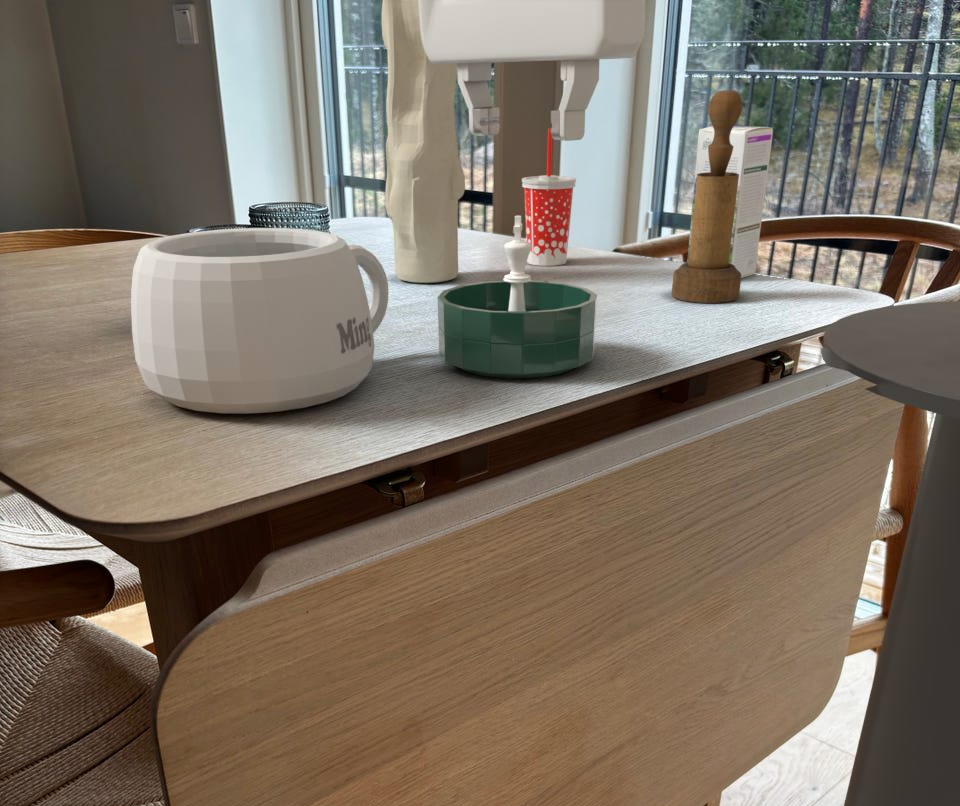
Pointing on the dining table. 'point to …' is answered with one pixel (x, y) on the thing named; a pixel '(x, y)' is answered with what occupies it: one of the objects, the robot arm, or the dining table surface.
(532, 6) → the robot arm
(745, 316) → the dining table surface
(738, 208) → the syrup box
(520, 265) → the chess piece
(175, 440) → the dining table surface
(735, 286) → the mortar and pestle
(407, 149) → the vase
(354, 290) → the mug
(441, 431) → the dining table surface
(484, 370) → the green round bowl
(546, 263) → the beverage cup
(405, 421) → the dining table surface
